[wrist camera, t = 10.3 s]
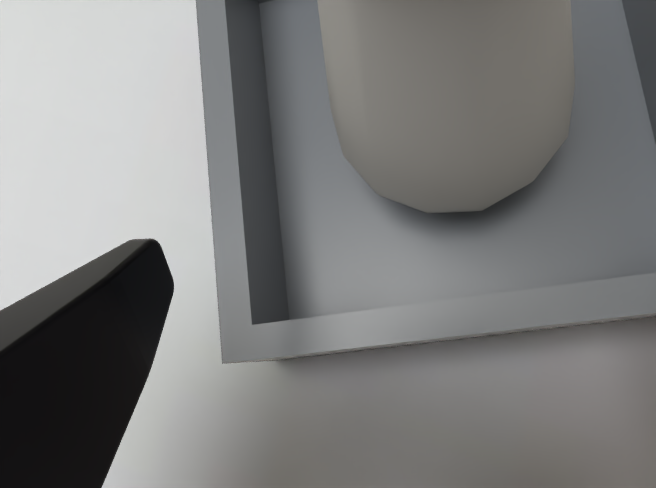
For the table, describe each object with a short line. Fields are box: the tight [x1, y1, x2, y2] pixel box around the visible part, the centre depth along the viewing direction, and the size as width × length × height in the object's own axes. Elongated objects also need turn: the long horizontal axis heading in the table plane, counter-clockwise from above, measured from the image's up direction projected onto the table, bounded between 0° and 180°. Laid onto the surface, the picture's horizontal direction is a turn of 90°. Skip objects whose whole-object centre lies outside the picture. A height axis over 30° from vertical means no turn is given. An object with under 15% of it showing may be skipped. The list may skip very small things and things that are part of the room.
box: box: [196, 0, 656, 364], centre depth 16 cm, size 12×12×4 cm
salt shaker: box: [317, 0, 575, 213], centre depth 11 cm, size 6×6×13 cm
